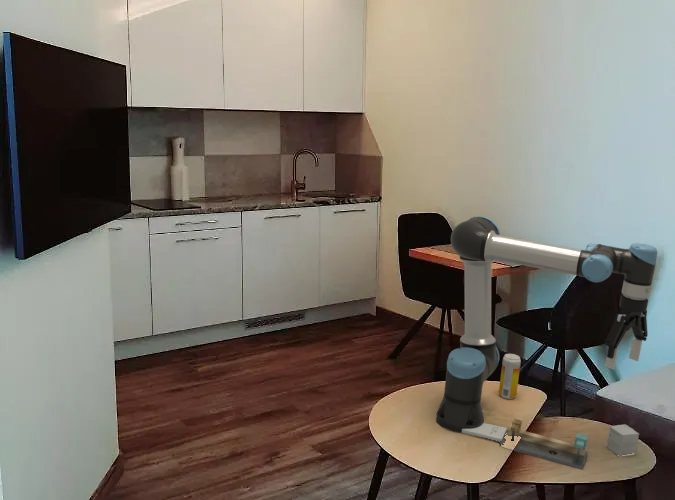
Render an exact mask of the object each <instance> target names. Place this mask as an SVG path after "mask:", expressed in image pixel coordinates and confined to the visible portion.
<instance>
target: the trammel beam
mask: <svg viewBox="0 0 675 500" xmlns="http://www.w3.org/2000/svg"><path fill="white" fill-rule="evenodd" d="M522 422H523V421H522V419H519V418H518V419H517V418H513V420H512V422H511V426H508V427H507V434H506V435H508V436H512V439H511V441H514V436H517V437H518V436H520V437H521V439H522V440H526V441H529V442H533V443H537V444H541V445H544V446H548V447H552V448H556V449H559V450H563V451H567V452H571V453H574V454H577V451H578V448H576V447H574V446H575V443H571V442H568V441H565V440H561V439H557V438H552V437H550V436H545V435H541V434H538V433H534V432H530V431H525V430H522ZM586 448H587V447H586ZM586 448H585V450H584V449H580V454H579V455H582V456H584V454H585V451H586Z"/></svg>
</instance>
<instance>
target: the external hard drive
mask: <svg viewBox="0 0 675 500" xmlns="http://www.w3.org/2000/svg"><path fill="white" fill-rule="evenodd" d="M507 429H508V427H502V426H499V425H495V424H490V423H486V422H484V423H483V424H482V425H481V426H480V427H477V428H473V429H462V433H461V434H464V435H469V436H473V437H477V436H478V437H477V438H481V437H484V438H483V439H485V438H488V439H487V440H489V439H493V440H497V441H502V439H503V437H504V435H505V433H506V431H507ZM493 440H492V441H493ZM497 441H496V442H497Z"/></svg>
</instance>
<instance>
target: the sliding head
mask: <svg viewBox="0 0 675 500" xmlns="http://www.w3.org/2000/svg"><path fill="white" fill-rule="evenodd" d="M588 438H589V437H588V434H584V433H579V432H577V433H576V435H575V440H574V444H575V446H574V447H576V448H578V451H577V457H576V458H577V459H579V454H580V449H584V450H585V451H586V449H585V448H587V442H588Z"/></svg>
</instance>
